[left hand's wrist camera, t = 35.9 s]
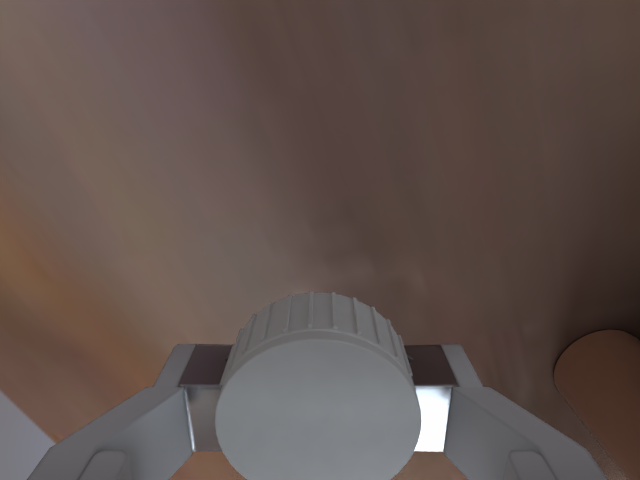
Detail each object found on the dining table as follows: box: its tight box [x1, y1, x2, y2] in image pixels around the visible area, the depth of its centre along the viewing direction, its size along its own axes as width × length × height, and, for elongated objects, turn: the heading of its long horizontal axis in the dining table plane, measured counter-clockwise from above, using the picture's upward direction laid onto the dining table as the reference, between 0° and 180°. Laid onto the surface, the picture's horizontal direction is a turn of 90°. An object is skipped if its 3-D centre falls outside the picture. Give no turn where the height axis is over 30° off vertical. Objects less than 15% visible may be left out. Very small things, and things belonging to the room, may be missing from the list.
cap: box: [215, 291, 422, 480], centre depth 10 cm, size 4×4×2 cm
